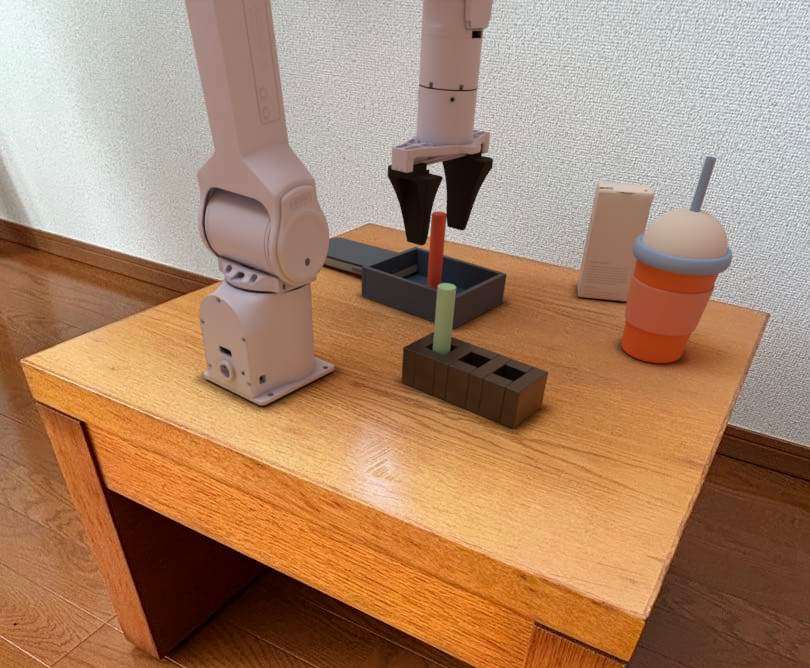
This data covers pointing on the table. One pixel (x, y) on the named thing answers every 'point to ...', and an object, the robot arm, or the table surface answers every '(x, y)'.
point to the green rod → (444, 318)
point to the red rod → (436, 249)
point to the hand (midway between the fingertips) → (436, 235)
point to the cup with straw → (674, 278)
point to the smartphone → (360, 256)
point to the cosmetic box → (613, 239)
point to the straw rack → (475, 379)
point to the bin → (412, 294)
